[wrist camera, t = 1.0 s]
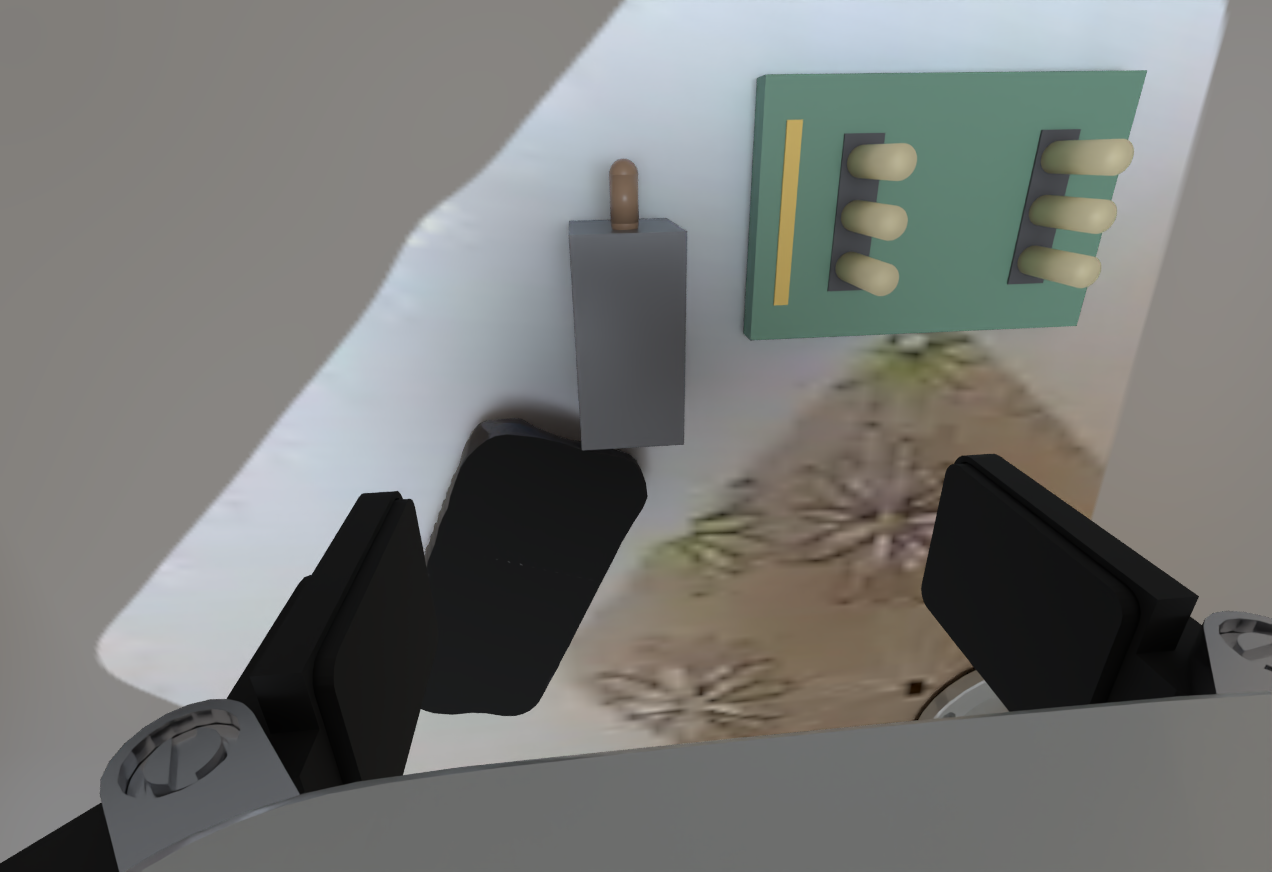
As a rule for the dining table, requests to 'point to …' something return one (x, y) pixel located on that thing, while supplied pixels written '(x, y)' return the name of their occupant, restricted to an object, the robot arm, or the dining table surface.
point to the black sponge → (520, 561)
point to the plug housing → (629, 322)
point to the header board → (931, 199)
